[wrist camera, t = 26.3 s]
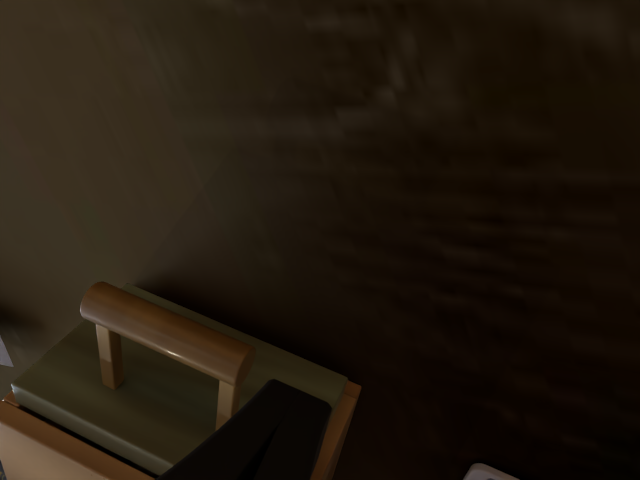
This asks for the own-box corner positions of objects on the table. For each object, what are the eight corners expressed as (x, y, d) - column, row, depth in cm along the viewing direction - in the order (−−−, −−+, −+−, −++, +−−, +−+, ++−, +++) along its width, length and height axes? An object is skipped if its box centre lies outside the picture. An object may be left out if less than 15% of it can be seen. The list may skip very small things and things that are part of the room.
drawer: (121, 195, 23) (-16, 287, 18) (373, 293, 20) (302, 434, 15) (137, 444, 34) (55, 548, 28) (303, 528, 31) (248, 658, 26)
